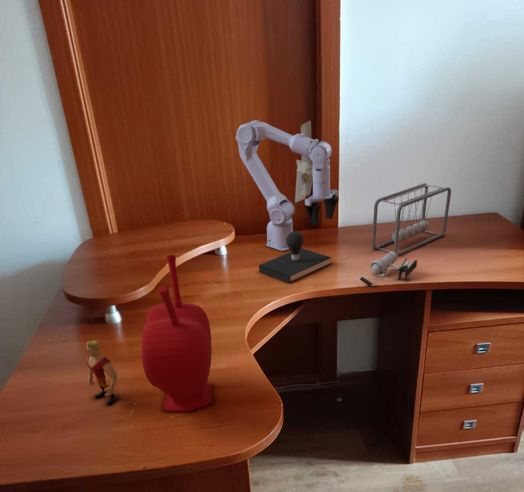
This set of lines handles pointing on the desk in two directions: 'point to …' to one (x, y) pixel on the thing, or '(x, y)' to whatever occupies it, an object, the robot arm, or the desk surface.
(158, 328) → the novelty television
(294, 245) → the light bulb
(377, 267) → the clip-on lamp
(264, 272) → the notebook
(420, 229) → the newton's cradle
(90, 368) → the action figure
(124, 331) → the desk surface
